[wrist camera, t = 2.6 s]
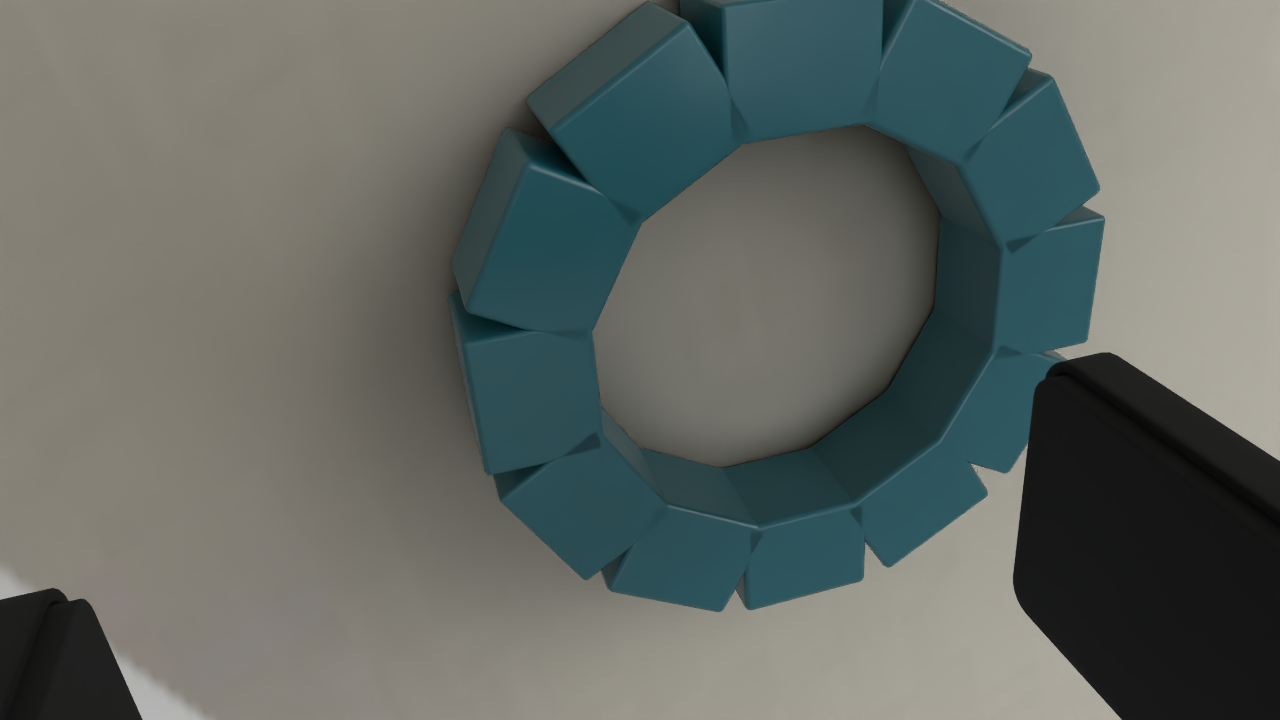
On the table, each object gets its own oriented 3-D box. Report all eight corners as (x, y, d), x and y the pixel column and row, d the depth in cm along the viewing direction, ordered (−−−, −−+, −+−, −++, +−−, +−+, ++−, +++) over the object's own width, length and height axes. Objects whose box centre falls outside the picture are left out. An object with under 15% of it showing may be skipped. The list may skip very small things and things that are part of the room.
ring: (505, 601, 16) (522, 674, 15) (394, 23, 12) (404, 48, 10) (1004, 476, 18) (1061, 531, 16) (1064, -67, 13) (1148, -54, 12)
